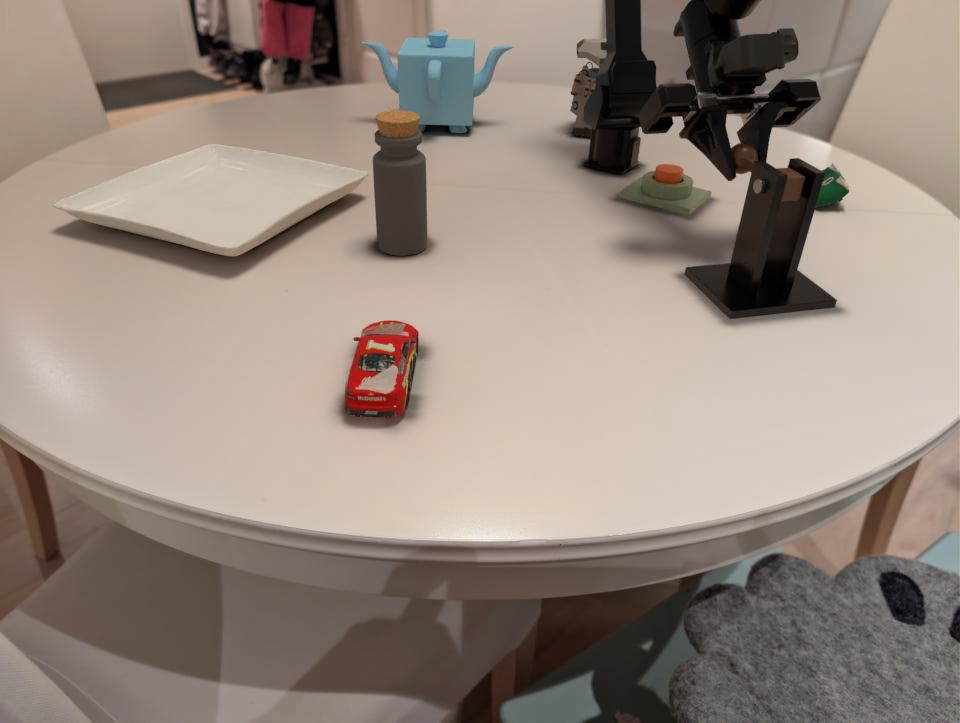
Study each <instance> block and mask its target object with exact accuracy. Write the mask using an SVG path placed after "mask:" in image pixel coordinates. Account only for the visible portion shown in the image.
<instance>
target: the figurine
mask: <svg viewBox="0 0 960 723" xmlns="http://www.w3.org/2000/svg"><path fill="white" fill-rule="evenodd" d="M606 55H607V44H606V37H605V38H582V39H581V40H580V41H578V42H577V43H576V56H577V59H587V60H588V62H586V63H585V65H582V67H581V68H582V69H581V70H580V71H579V72H578V73H576V74H575V76H574V80H573V84H572V86H571V91H570V95H571V96H572V100H571V101H572V102H571V106H570V110H569V111H570V112H571V113H572V114H574V115H575V116H576V117H575V120H574V121H575V122H574V126H573V129H572V133H571V134H573V135H574V136H575V137H578V136H580V138H583V137H584V136H587V138H589V139H590V138H591V129H592V128H591V127H590V126H589V125H588V124H586V123H585V122H584V105H585V104H586V102H587V100H588V99H589V97H590V95H591V94H592V92H593V91H594V89H595V87H596V75H597V73H598V71H599V69H600V67H601V65H602V63H603V62H604V60H605V58H606ZM589 64H590V65H591V68H589ZM594 64H595V65H596V66H597V67H594Z"/></svg>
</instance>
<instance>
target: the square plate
mask: <svg viewBox="0 0 960 723" xmlns="http://www.w3.org/2000/svg"><path fill="white" fill-rule="evenodd" d="M368 176H369V171H367V170H364V169H363V170H362V169H356V168H351V167H347V166H341V165H337V164H333V163H328V162H323V161H318V160H314V159H309V158H303V157H298V156H294V155H293V156H292V155H287V154H282V153H275V152H271V151H264V150H259V149H251V148H245V147H238V146H231V145H225V144H218V143H208V144H206V145H203V146H199V147H197V148H195V149H191V150H188V151H185V152H182V153H179V154H176V155H174V156H170V157H167V158H165V159H162V160H160V161H156V162H153V163H151V164H147V165H145V166H142V167H140V168H136V169H134V170H131V171H129V172H126V173H123V174H121V175H118V176H116V177H113V178H111V179H107V180H106V181H104V182H101V183H98V184H96V185H94V186H92V187H89V188H86V189H84V190H82V191H80V192H77V193H75V194H73V195H70V196H68V197H65V198H63V199H60V200H58V201H56V202H54V203H53V208H55V209H58V210H61V211H63V212H65V213H66V214H68V215H70V216H72V217H74V218H77V219H79V220H81V221H85V222H87V223H91V224H96V225H99V226H102V227H106V228H111V229H116V230H120V231H124V232H127V233H131V234H135V235H139V236H144V237H146V238H147V237H148V238H152V239H156V240H160V241H164V242H169V243H173V244H177V245H181V246H185V247H188V248H193V249H195V250H200V251H201V252H207V253H211V254H216V255H220V256H225V257H238V256H240V255H243V254H245V253H247V252H249V251H251V250H253V248H257V247H258V246H260V245H262V244H264V243H265V242H267V241H270V240H271V239H272V238H274V237H275V236H277V235H279V234H280V233H282V232H284V231H286V230H288V229H289V228H291V227H293V226H295V225H296V224H298V223H300V222H302V221H303V220H305V219H307V218H308V217H310V216H312V215H314V214H316V213H318V212H319V211H321V210H322V209H324V208H325V207H326V206H328V205H330V204H333V203H334V202H336V201H338V200H340V199H341V198H343V197H345V196H347V195H348V194H350V193H351V192H353V191H354V190H356V189H357V188H358V187H359V186H360V185H361V184H362V182H363V181H364V180H365V179H366V178H367V177H368Z"/></svg>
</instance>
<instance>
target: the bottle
mask: <svg viewBox="0 0 960 723" xmlns="http://www.w3.org/2000/svg"><path fill="white" fill-rule="evenodd" d="M419 120H420V116H419V115H418V114H417V113H415V112H411V111H404V110H399V109H394V110H384V111H382V112H379V113H377V114H376V115H375V121H376V125H377V130H376V131H374V142H375V144H376V145H377V146H379V147H380V149H379V150H378V151H377V152H375V153H374V155H373V156H372V175H373V192H374V210H375V211H374V212H375V227H376V228H375V229H376V241H377V247H378V249H379V250H380V251H381V252H382V253H384V254H387V255H391V256H400V257H401V256H402V257H403V256H405V257H406V256H413V255H416V254H419V253H422V252H423V251H425V250H426V248H427V247H428V198H427V196H428V194H427V190H428V188H427V158H426V155H425V154H424V153H423V152H422V151H421V150H419V149H418V146H420V145H422V143H423V133H422V132H421V131H419V130H418V126H419Z"/></svg>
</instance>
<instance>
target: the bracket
mask: <svg viewBox="0 0 960 723" xmlns="http://www.w3.org/2000/svg"><path fill="white" fill-rule="evenodd" d="M776 168H777V167H775V166H773V165H771V164H770V163H769V162H767V161H766V162H765V161H763V160H762V161H754V164H753V168H752V172H750V177H749V182H748V185H747V191H746V194H745V198H744V202H743V206H742V211H741V216H740V220H739V224H738V229H737V232H736V237H735V242H734V247H733V250H732V254H731V259H730V262H727V263H725V262H724V263H715V264H714V263H713V264H704V265H693V266H686V267H685V270H684V276H686V277H687V278H688V279H689V281H691V283H692V284H694V285H695V287H697V288H698V289H699V290H700V291H701V292H702V293H703V294H704V295H705V296H706V297H707V298H708V299H709V300H710V301H711V302H712V303H713V304H714V305H715V306H716V307H718V308H719V310H721V311H722V313H724V314H725V315H726V316H727V317H728V319H730V320H732V319H741V318H750V317H759V316H766V315H768V316H769V315H776V314H777V315H778V314H786V313H795V312H796V313H797V312H803V311H813V310H822V309H831V308H835V307H836V304H837V303H838V302H837V301H838V300H837V299H836V298H835V297H834V296H833V295H832V294H830V293H829V292H828V291H827V290H825V289H824V288H822V287H821V286H819V285H818V284H817V283H815V281H813V280H811V278H809V277H807V276H806V274H803V273H802V272H801V271H800V270H799V266H800V262H801V259H802V255H803V252H804V248H805V245H806V241H807V238H808V234H809V231H810V228H811V224H812V220H813V217H814V213H815V210H816V208H815V207H816V204H817V200H818V197H819V193H820V190H821V187H822V183H823V180H824V176H825V172H823V171H822V170H821V169H819V168H818V167H815V166H814V165H812V164H810V163H808V162H806V161H805V160H803V159H801V158H799V157H795V158H794V157H793V158H789V161H788V165H787V168H791V169H792V170H794V171H796V172H798V173H799V174H801V175H803V176H805V181H804V185H803V189H802V192H801V196H800V200H798V201H785V202H781V201H782V197H783V193H784V189H785V185H786V182H787V178H788V175H786V174H785V173H783V172H781V171H780V170H778V169H776Z"/></svg>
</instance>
